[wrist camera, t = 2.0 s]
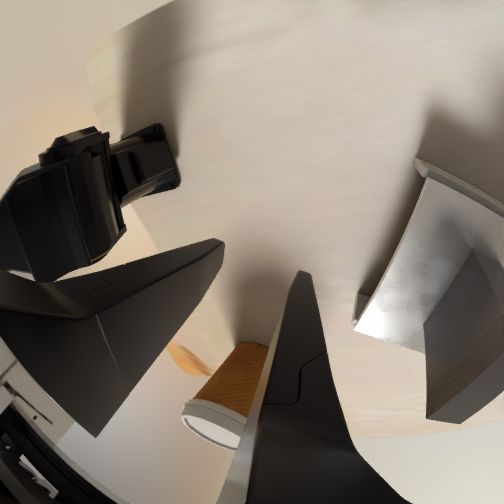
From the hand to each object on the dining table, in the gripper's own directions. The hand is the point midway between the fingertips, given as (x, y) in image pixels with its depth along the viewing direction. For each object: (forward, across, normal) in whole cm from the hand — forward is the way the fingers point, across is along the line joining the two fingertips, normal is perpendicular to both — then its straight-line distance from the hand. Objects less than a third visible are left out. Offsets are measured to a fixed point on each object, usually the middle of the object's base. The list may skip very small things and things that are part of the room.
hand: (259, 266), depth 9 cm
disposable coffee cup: (+13, +1, +25) cm, 28 cm away
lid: (+9, -13, +3) cm, 16 cm away
